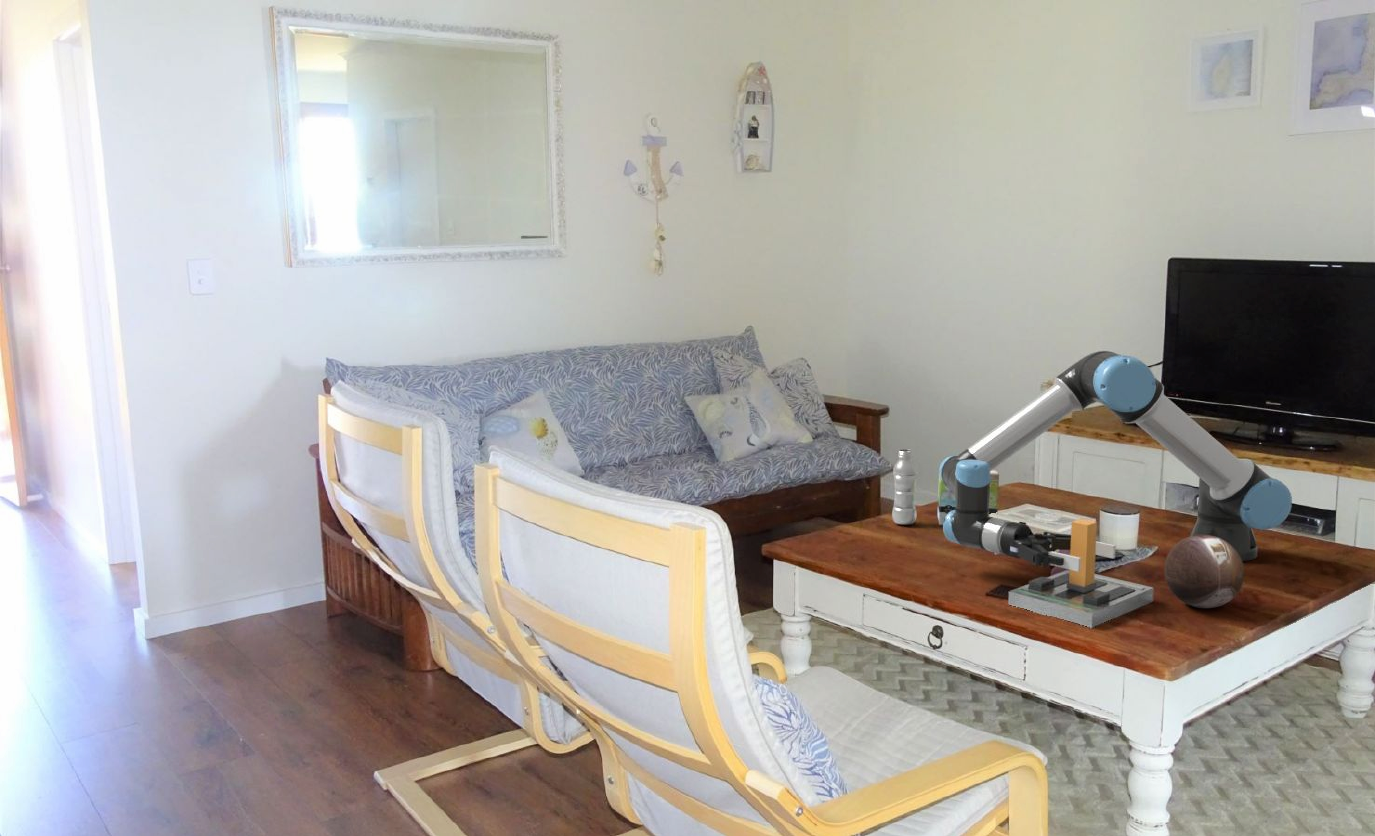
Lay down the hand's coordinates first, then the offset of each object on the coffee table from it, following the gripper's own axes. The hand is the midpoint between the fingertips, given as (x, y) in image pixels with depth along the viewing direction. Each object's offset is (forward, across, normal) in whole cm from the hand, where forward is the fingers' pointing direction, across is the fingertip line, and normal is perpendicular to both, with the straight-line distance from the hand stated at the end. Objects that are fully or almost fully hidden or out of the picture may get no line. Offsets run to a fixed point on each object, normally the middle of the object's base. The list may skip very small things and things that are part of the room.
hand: (1097, 558), depth 235 cm
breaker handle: (-3, 0, -7) cm, 8 cm away
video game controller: (-18, -17, -11) cm, 27 cm away
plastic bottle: (-70, -25, -11) cm, 75 cm away
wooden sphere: (+14, -16, -11) cm, 24 cm away
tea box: (-60, -38, -11) cm, 72 cm away
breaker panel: (-3, 0, -10) cm, 11 cm away
